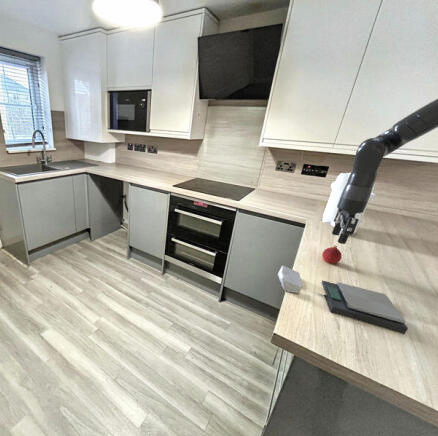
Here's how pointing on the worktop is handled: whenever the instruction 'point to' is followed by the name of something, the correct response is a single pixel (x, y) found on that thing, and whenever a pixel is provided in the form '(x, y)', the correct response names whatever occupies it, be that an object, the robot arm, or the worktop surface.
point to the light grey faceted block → (290, 280)
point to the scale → (340, 308)
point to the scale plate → (369, 302)
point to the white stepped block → (335, 197)
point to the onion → (332, 255)
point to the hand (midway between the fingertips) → (337, 238)
